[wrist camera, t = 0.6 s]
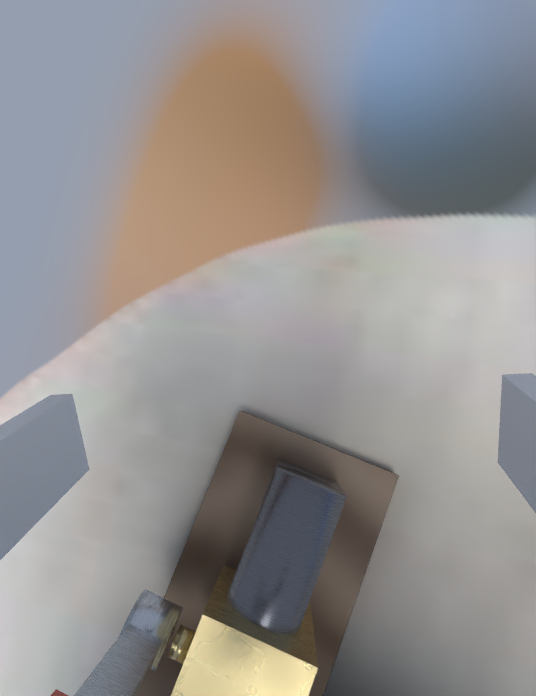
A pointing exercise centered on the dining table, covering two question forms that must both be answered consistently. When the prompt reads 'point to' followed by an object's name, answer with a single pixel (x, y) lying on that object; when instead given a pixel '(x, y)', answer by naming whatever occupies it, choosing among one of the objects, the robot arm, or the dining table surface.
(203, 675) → the valve pipe
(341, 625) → the base board
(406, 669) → the dining table surface
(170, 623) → the valve lever
